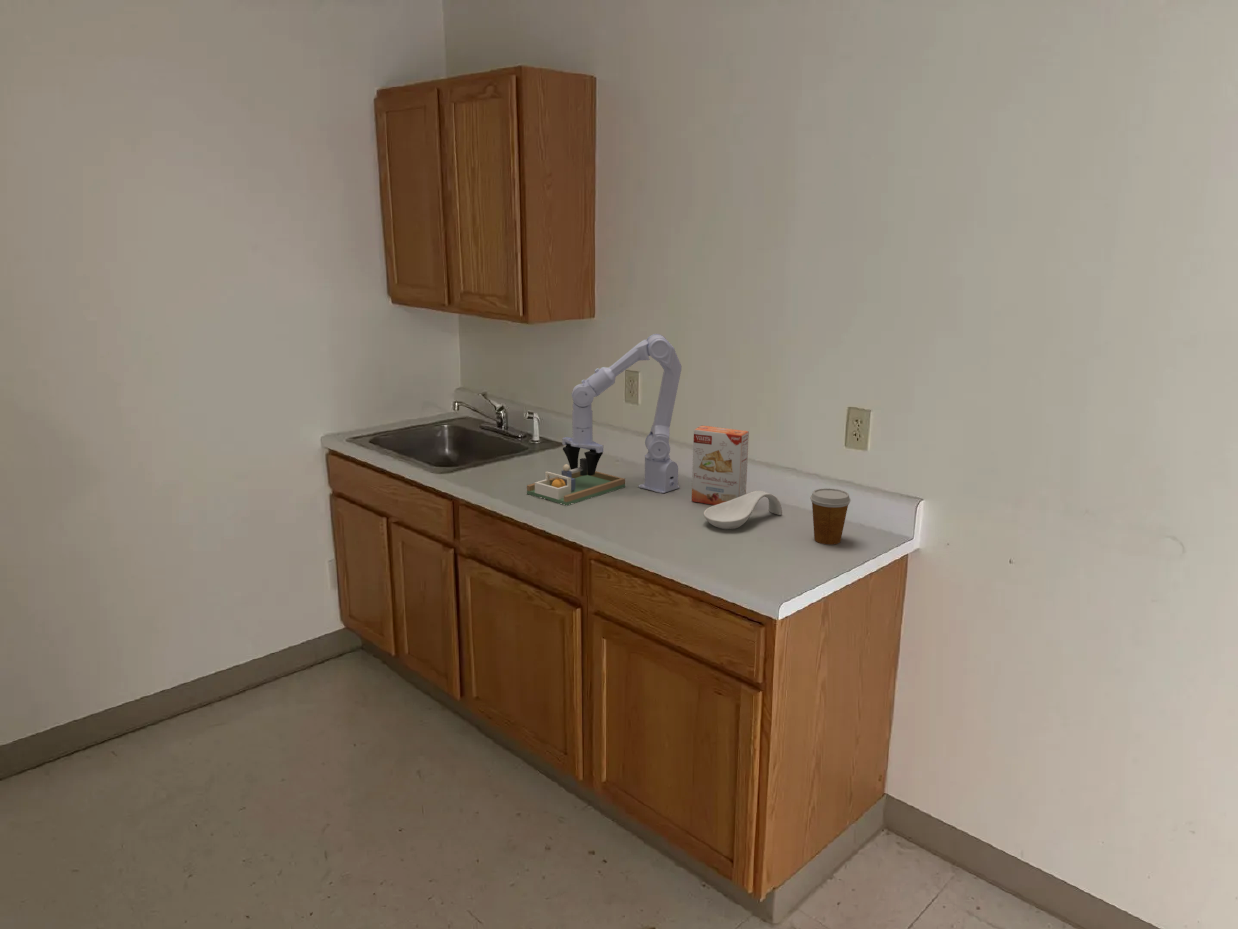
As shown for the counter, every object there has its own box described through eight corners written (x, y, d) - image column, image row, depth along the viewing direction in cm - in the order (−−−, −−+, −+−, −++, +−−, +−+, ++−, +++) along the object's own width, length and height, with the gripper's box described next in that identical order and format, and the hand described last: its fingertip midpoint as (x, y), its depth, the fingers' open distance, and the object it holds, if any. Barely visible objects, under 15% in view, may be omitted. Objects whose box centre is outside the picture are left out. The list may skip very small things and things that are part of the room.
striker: (592, 484, 258) (592, 460, 257) (570, 491, 252) (570, 466, 250) (580, 481, 262) (580, 456, 260) (558, 487, 255) (557, 463, 253)
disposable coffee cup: (818, 531, 225) (821, 485, 222) (854, 539, 219) (857, 492, 216) (800, 541, 218) (803, 494, 215) (836, 550, 212) (840, 502, 209)
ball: (559, 496, 250) (569, 491, 252) (557, 482, 248) (568, 478, 251) (549, 493, 252) (559, 488, 255) (547, 479, 251) (558, 475, 254)
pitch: (625, 486, 261) (625, 466, 259) (566, 505, 244) (566, 483, 242) (585, 476, 271) (585, 456, 270) (527, 493, 254) (526, 472, 252)
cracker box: (690, 502, 247) (692, 428, 242) (699, 496, 252) (701, 424, 247) (738, 510, 241) (741, 434, 235) (746, 504, 246) (749, 430, 241)
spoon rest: (725, 537, 221) (726, 509, 219) (693, 524, 230) (694, 498, 228) (791, 519, 235) (793, 493, 233) (759, 508, 244) (761, 482, 242)
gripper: (554, 424, 256) (555, 470, 260) (591, 433, 247) (591, 480, 251) (571, 421, 261) (572, 465, 265) (608, 428, 252) (608, 475, 256)
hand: (582, 472), depth 258 cm, fingers open, 6 cm apart
